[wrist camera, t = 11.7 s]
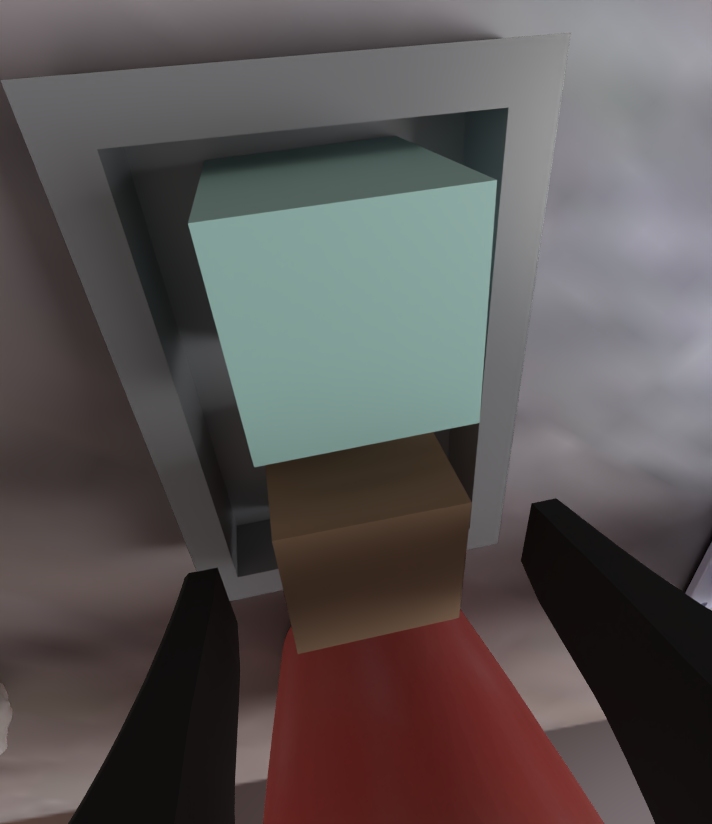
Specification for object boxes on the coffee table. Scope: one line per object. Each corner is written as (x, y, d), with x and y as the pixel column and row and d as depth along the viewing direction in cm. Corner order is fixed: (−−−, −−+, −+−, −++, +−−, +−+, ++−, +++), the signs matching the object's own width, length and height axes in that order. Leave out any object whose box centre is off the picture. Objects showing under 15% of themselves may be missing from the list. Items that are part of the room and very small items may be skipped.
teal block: (402, 311, 13) (479, 422, 9) (246, 337, 12) (253, 467, 8) (396, 136, 11) (497, 179, 7) (205, 160, 10) (188, 222, 6)
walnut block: (402, 481, 16) (459, 617, 12) (280, 504, 16) (297, 654, 12) (403, 377, 14) (471, 502, 10) (259, 399, 14) (272, 541, 10)
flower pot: (288, 531, 17) (335, 913, 10) (534, 561, 21) (709, 848, 14) (215, 697, 22) (206, 1038, 15) (426, 696, 26) (508, 963, 19)
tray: (505, 38, 10) (570, 32, 8) (467, 489, 18) (497, 543, 16) (50, 76, 9) (0, 80, 7) (212, 540, 17) (210, 605, 15)
